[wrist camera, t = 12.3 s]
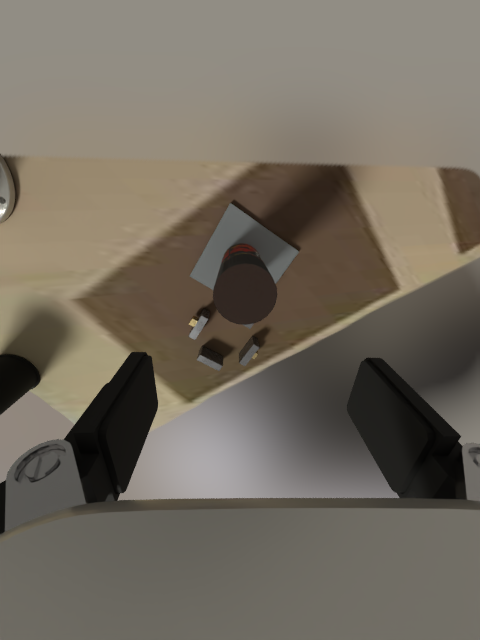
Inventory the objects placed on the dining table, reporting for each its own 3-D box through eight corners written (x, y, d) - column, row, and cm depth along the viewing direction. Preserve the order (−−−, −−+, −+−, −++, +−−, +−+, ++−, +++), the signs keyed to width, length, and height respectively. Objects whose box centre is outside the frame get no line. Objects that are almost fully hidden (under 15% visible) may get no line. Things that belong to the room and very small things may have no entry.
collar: (178, 339, 41) (174, 348, 38) (208, 289, 37) (206, 295, 34) (239, 370, 44) (239, 380, 41) (272, 327, 40) (275, 335, 37)
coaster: (190, 275, 36) (189, 276, 35) (230, 203, 32) (230, 202, 31) (253, 312, 39) (253, 314, 38) (297, 251, 35) (298, 251, 34)
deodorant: (268, 255, 34) (289, 283, 21) (248, 289, 36) (256, 334, 23) (233, 235, 33) (231, 250, 19) (215, 271, 35) (202, 308, 22)
